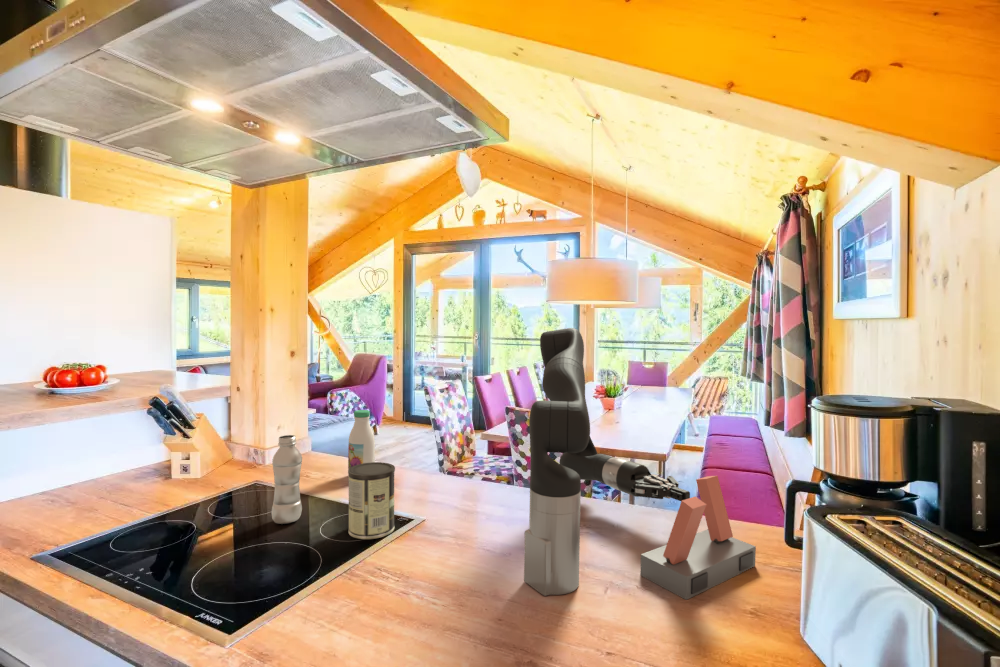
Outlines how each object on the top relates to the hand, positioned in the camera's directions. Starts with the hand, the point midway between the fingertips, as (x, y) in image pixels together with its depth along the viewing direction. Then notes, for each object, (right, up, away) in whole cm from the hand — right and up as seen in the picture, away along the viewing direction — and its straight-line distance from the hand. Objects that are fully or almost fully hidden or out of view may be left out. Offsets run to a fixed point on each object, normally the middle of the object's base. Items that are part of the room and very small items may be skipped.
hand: (687, 497), depth 108 cm
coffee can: (-69, -10, +6) cm, 70 cm away
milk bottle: (-82, -9, +45) cm, 94 cm away
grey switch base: (-2, -11, -11) cm, 15 cm away
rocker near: (-8, -6, -15) cm, 18 cm away
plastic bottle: (-90, -9, +10) cm, 91 cm away
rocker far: (+4, -6, -7) cm, 10 cm away
